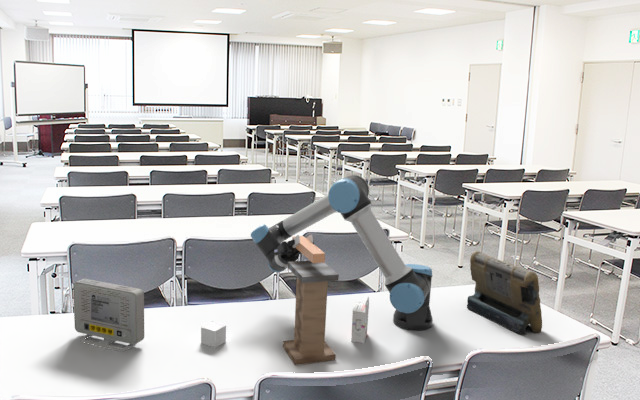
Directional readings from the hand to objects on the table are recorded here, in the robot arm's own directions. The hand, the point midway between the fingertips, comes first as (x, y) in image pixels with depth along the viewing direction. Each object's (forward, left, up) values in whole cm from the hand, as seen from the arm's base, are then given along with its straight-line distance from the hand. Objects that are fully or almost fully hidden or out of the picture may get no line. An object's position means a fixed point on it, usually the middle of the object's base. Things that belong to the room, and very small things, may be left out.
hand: (305, 238), depth 192 cm
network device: (+65, +6, -38) cm, 76 cm away
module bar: (-1, +3, -4) cm, 5 cm away
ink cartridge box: (-21, -6, -38) cm, 44 cm away
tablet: (-80, -30, -38) cm, 94 cm away
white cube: (+30, +3, -38) cm, 49 cm away
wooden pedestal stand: (-3, +8, -38) cm, 39 cm away
